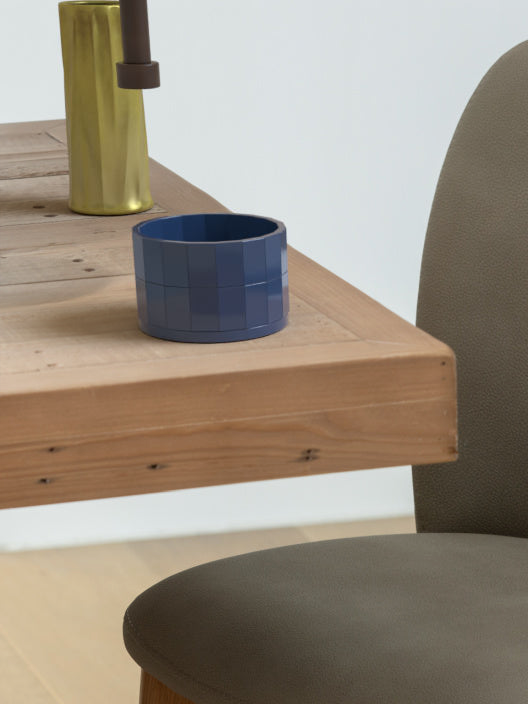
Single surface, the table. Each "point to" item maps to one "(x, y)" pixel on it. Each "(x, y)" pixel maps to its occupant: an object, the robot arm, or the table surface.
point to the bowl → (211, 276)
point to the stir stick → (136, 48)
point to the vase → (101, 114)
